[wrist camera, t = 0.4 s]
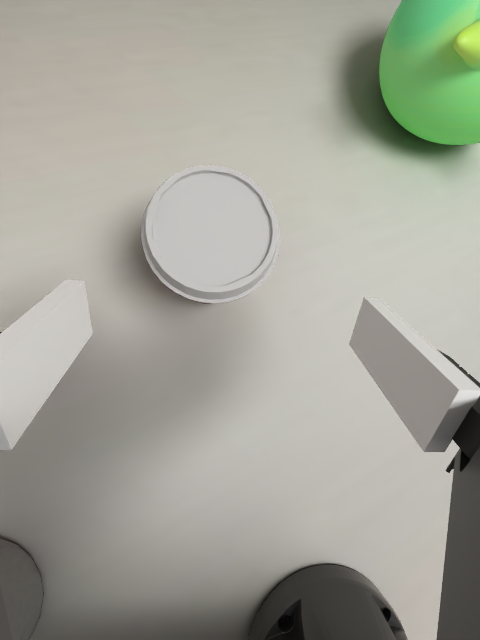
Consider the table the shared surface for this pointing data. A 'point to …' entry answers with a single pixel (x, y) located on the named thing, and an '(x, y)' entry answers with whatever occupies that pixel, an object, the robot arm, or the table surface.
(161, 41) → the table surface
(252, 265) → the disposable coffee cup
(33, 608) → the canister
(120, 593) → the table surface
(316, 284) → the table surface
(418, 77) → the toy bird
